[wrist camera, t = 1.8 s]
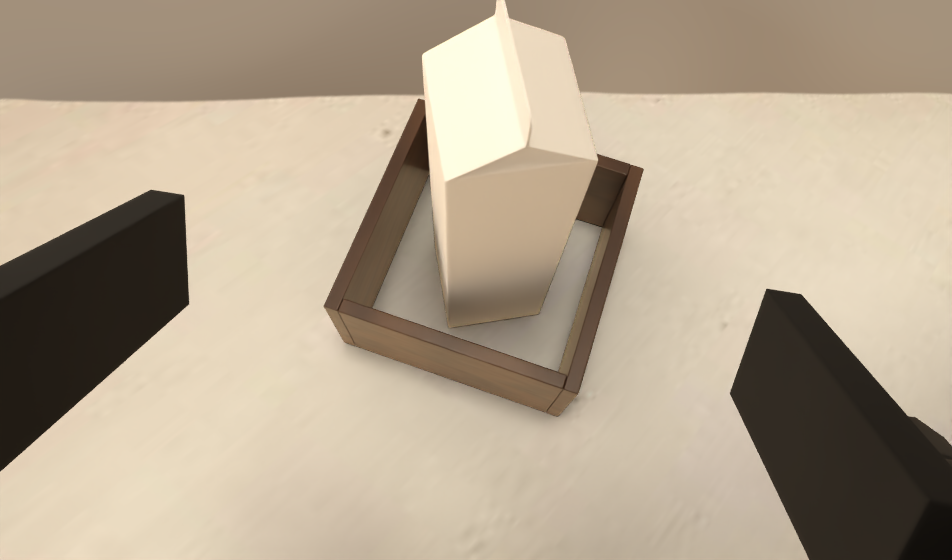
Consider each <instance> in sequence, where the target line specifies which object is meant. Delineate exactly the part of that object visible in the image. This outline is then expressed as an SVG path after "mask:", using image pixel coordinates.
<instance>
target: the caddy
mask: <svg viewBox="0 0 952 560" xmlns="http://www.w3.org/2000/svg"><path fill="white" fill-rule="evenodd" d="M597 157H598V163H597V165H596V168H595V170H594V173H593V176H592V178H591V181H590V183H589V186H588V189H587V191H586V194H585V196H584V199H583V201H582V204H581V207H580V209H579V212H578V214H577V217H576V219H579V220H582V221H585V222H588V223H591V224H594V225H598V226H601V227H602V231H601V234H600V237H599V240H598V244H597V247H596V250H595V254H594V257H593V260H592V263H591V267H590V270H589V273H588V276H587V280H586V283H585V286H584V290H583V293H582V296H581V299H580V303H579V306H578V309H577V312H576V316H575V319H574V322H573V326H572V329H571V332H570V335H569V339H568V342H567V345H566V348H565V352H564V355H563V358H562V361H561V365H560V368H559V371H558V372H557V371H554V370H551V369H548V368H545V367H542V366H539V365H536V364H533V363H530V362H527V361H524V360H522V359H519V358H516V357H513V356H510V355H507V354H504V353H501V352H498V351H495V350H492V349H490V348H487V347H484V346H481V345H478V344H475V343H472V342H469V341H466V340H463V339H460V338H458V337H455V336H452V335H449V334H446V333H443V332H440V331H437V330H434V329H431V328H428V327H425V326H423V325H420V324H417V323H414V322H411V321H408V320H405V319H402V318H399V317H396V316H393V315H391V314H388V313H385V312H382V311H379V310H376V309H373V308H372V306H373V304H374V302H375V299H376V297H377V295H378V292H379V290H380V288H381V285H382V283H383V281H384V278H385V276H386V274H387V271H388V269H389V267H390V264H391V262H392V260H393V257H394V255H395V253H396V250H397V248H398V246H399V243H400V241H401V239H402V236H403V234H404V231H405V229H406V227H407V224H408V222H409V220H410V217H411V215H412V213H413V210H414V208H415V206H416V203H417V201H418V199H419V196H420V194H421V192H422V189H423V187H424V185H425V182H426V180H427V178H428V175H429V173H430V168H429V153H428V138H427V123H426V108H425V100H422V99H418V101H417V103H416V105H415V107H414V109H413V112H412V114H411V116H410V118H409V120H408V122H407V125H406V127H405V129H404V131H403V133H402V136H401V138H400V140H399V142H398V144H397V147H396V149H395V151H394V153H393V155H392V158H391V160H390V162H389V164H388V166H387V169H386V171H385V173H384V175H383V177H382V179H381V182H380V184H379V186H378V188H377V190H376V193H375V195H374V197H373V199H372V201H371V204H370V206H369V208H368V210H367V212H366V215H365V217H364V219H363V221H362V223H361V225H360V228H359V230H358V232H357V234H356V236H355V239H354V241H353V243H352V245H351V247H350V250H349V252H348V254H347V256H346V258H345V261H344V263H343V265H342V267H341V269H340V272H339V274H338V276H337V278H336V280H335V282H334V285H333V287H332V289H331V291H330V293H329V296H328V298H327V300H326V302H325V304H324V308H325V309H326V311H327V313H328V315H329V316H330V318H331V320H332V322H333V323H334V325H335V327H336V329H337V330H338V332H339V334H340V336H341V337H342V339H343V341H344V342H345V343H348V344H351V345H354V346H357V347H360V348H363V349H366V350H369V351H372V352H374V353H377V354H380V355H383V356H386V357H389V358H392V359H394V360H397V361H400V362H403V363H406V364H409V365H412V366H414V367H417V368H420V369H423V370H426V371H429V372H432V373H434V374H437V375H440V376H443V377H446V378H449V379H452V380H454V381H457V382H460V383H463V384H466V385H469V386H472V387H474V388H477V389H480V390H483V391H486V392H489V393H492V394H494V395H497V396H500V397H503V398H506V399H509V400H512V401H514V402H517V403H520V404H523V405H526V406H529V407H532V408H534V409H537V410H540V411H543V412H547V413H549V414H552V415H554V416H559V415H560V414H561V413H562V412H563V410H564V409H565V408H566V407H567V406H568V405H569V404H570V403H571V401H572V400H573V399H574V398H575V397H576V396H577V395H578V393H579V390H580V387H581V383H582V380H583V376H584V373H585V370H586V366H587V363H588V359H589V356H590V352H591V349H592V345H593V342H594V339H595V335H596V332H597V328H598V325H599V321H600V318H601V314H602V311H603V308H604V304H605V301H606V297H607V294H608V290H609V287H610V283H611V280H612V277H613V273H614V270H615V266H616V263H617V259H618V256H619V253H620V249H621V246H622V242H623V239H624V235H625V232H626V228H627V225H628V222H629V218H630V215H631V211H632V208H633V204H634V201H635V197H636V194H637V191H638V187H639V184H640V180H641V177H642V173H643V168H640V167H637V166H634V165H631V166H630V164H628V163H625V162H621V161H618V160H615V159H612V158H609V157H605V156H602V155H599V154H597Z"/></svg>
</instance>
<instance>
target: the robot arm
mask: <svg viewBox="0 0 952 560" xmlns="http://www.w3.org/2000/svg"><path fill="white" fill-rule="evenodd" d="M188 305H189V292H188V269H187V246H186V224H185V201H184V195H180V194H174V193H168V192H162V191H155V190H150V191H148V192H146V193H144V194H142V195H140V196H138V197H136V198H134V199H132V200H130V201H128V202H126V203H124V204H122V205H120V206H118V207H116V208H114V209H112V210H110V211H108V212H106V213H104V214H102V215H100V216H98V217H96V218H94V219H92V220H90V221H88V222H86V223H84V224H82V225H80V226H78V227H76V228H74V229H72V230H70V231H68V232H66V233H64V234H62V235H60V236H59V237H57V238H55V239H53V240H51V241H49V242H47V243H45V244H43V245H41V246H39V247H37V248H35V249H33V250H31V251H29V252H27V253H25V254H23V255H21V256H19V257H17V258H15V259H13V260H11V261H9V262H7V263H5V264H3V265H1V266H0V471H1V470H3V469H4V468H5V467H6V466H7V465H8V464H9V463H10V462H12V461H13V460H14V459H15V458H16V457H17V456H18V455H20V454H21V453H22V452H23V451H24V450H25V449H26V448H27V447H29V446H30V445H31V444H32V443H33V442H34V441H35V440H36V439H38V438H39V437H40V436H41V435H42V434H43V433H44V432H45V431H47V430H48V429H49V428H50V427H51V426H52V425H53V424H54V423H56V422H57V421H58V420H59V419H60V418H61V417H62V416H64V415H65V414H66V413H67V412H68V411H69V410H70V409H71V408H73V407H74V406H75V405H76V404H77V403H78V402H79V401H80V400H82V399H83V398H84V397H85V396H86V395H87V394H88V393H89V392H91V391H92V390H93V389H94V388H95V387H96V386H97V385H98V384H100V383H101V382H102V381H103V380H104V379H105V378H106V377H107V376H109V375H110V374H111V373H112V372H113V371H114V370H115V369H117V368H118V367H119V366H120V365H121V364H122V363H123V362H124V361H126V360H127V359H128V358H129V357H130V356H131V355H132V354H133V353H135V352H136V351H137V350H138V349H139V348H140V347H141V346H142V345H144V344H145V343H146V342H147V341H148V340H149V339H150V338H151V337H153V336H154V335H155V334H156V333H157V332H158V331H159V330H160V329H162V328H163V327H164V326H165V325H166V324H167V323H168V322H170V321H171V320H172V319H173V318H174V317H175V316H176V315H177V314H179V313H180V312H181V311H182V310H183V309H184V308H185V307H186V306H188ZM730 395H731V397H732V399H733V401H734V403H735V405H736V407H737V409H738V411H739V413H740V416H741V418H742V420H743V422H744V424H745V426H746V428H747V430H748V432H749V434H750V436H751V439H752V441H753V443H754V445H755V447H756V449H757V451H758V453H759V455H760V457H761V459H762V461H763V464H764V466H765V468H766V470H767V472H768V474H769V476H770V478H771V480H772V482H773V484H774V487H775V489H776V491H777V493H778V495H779V497H780V499H781V501H782V503H783V505H784V507H785V510H786V512H787V514H788V516H789V518H790V520H791V522H792V524H793V526H794V528H795V530H796V533H797V535H798V537H799V539H800V541H801V543H802V545H803V547H804V549H805V551H806V553H807V556H808V558H809V560H952V446H951V445H950V444H949V443H948V441H947V440H946V439H945V438H944V437H943V436H941V435H940V434H938V433H937V432H935V431H934V430H933V429H931V428H930V427H928V426H927V425H926V424H924V423H923V422H921V421H920V420H918V419H917V418H915V417H909V416H907V415H906V414H905V412H904V411H903V410H902V409H901V408H900V407H899V406H898V404H897V403H896V402H895V401H894V400H893V399H892V398H891V396H890V395H889V394H888V393H887V392H886V391H885V390H884V388H883V387H882V386H881V385H880V384H879V383H878V382H877V380H876V379H875V378H874V377H873V376H872V375H871V374H870V372H869V371H868V370H867V369H866V368H865V367H864V365H863V364H862V363H861V362H860V361H859V360H858V359H857V357H856V356H855V355H854V354H853V353H852V352H851V351H850V349H849V348H848V347H847V346H846V345H845V344H844V343H843V341H842V340H841V339H840V338H839V337H838V336H837V335H836V333H835V332H834V331H833V330H832V329H831V328H830V327H829V325H828V324H827V323H826V322H825V321H824V320H823V319H822V317H821V316H820V315H819V314H818V313H817V312H816V311H815V309H814V308H813V307H812V306H811V305H810V304H809V303H808V301H807V300H806V299H805V298H804V297H803V296H802V295H801V294H796V293H790V292H784V291H777V290H771V289H766V292H765V295H764V297H763V300H762V303H761V306H760V309H759V312H758V315H757V317H756V320H755V323H754V326H753V329H752V332H751V335H750V337H749V340H748V343H747V346H746V349H745V352H744V355H743V357H742V360H741V363H740V366H739V369H738V372H737V375H736V377H735V380H734V383H733V386H732V389H731V392H730Z"/></svg>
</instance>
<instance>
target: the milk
mask: <svg viewBox="0 0 952 560" xmlns="http://www.w3.org/2000/svg"><path fill="white" fill-rule="evenodd" d="M422 64H423V79H424V94H425V108H426V123H427V138H428V153H429V168H430V183H431V198H432V213H433V228H434V243H435V250H436V256H437V262H438V268H439V274H440V280H441V286H442V292H443V299H444V305H445V311H446V317H447V323H448V327H449V328H453V327H459V326H466V325H472V324H479V323H485V322H491V321H498V320H504V319H510V318H517V317H523V316H530V315H536V314H539V312H540V310H541V307H542V305H543V302H544V300H545V297H546V294H547V292H548V289H549V287H550V284H551V282H552V279H553V276H554V274H555V271H556V269H557V266H558V263H559V261H560V258H561V256H562V253H563V251H564V248H565V245H566V243H567V240H568V238H569V235H570V232H571V230H572V227H573V225H574V222H575V220H576V217H577V214H578V212H579V209H580V207H581V204H582V201H583V199H584V196H585V194H586V191H587V189H588V186H589V183H590V181H591V178H592V176H593V173H594V170H595V168H596V165H597V163H598V157H597V153H596V149H595V146H594V142H593V138H592V135H591V131H590V127H589V124H588V120H587V116H586V113H585V109H584V106H583V102H582V98H581V95H580V91H579V87H578V84H577V80H576V77H575V73H574V69H573V65H572V62H571V58H570V54H569V51H568V47H567V44H566V40H565V38H564V37H562V36H560V35H557V34H554V33H551V32H548V31H545V30H542V29H539V28H536V27H533V26H531V25H528V24H525V23H522V22H519V21H515V20H512V19H510V18H509V17H508V13H507V8H506V4H505V0H497V1H496V12H495V15H494V16H492V17H490V18H488V19H487V20H485V21H483V22H481V23H479V24H478V25H476V26H473V27H472V28H470V29H468V30H466V31H464V32H462V33H461V34H459V35H457V36H455V37H453V38H451V39H449V40H447V41H446V42H444V43H442V44H440V45H438V46H436V47H434V48H433V49H430V50H429V51H427V52H425V53H424V54H423V55H422Z"/></svg>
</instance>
